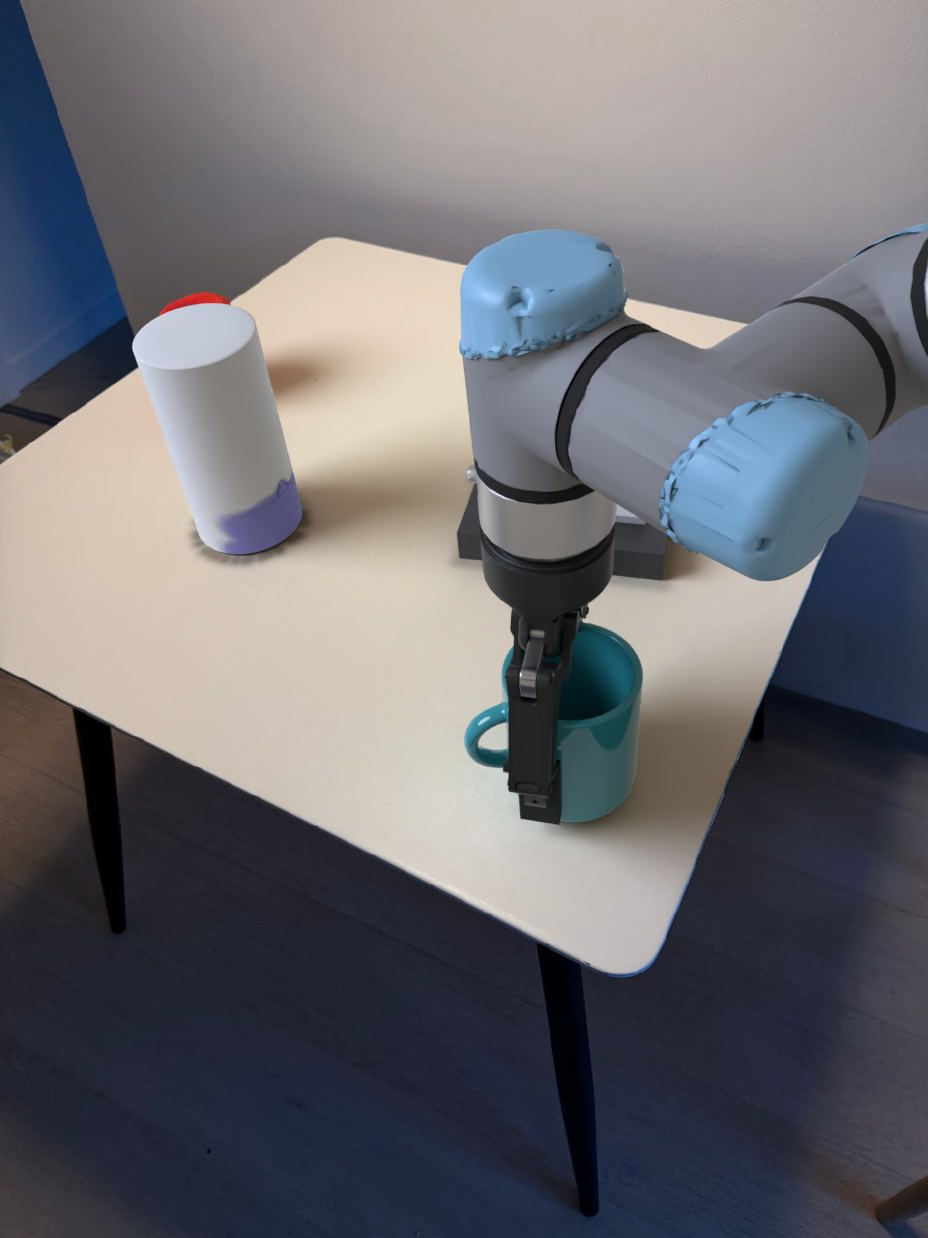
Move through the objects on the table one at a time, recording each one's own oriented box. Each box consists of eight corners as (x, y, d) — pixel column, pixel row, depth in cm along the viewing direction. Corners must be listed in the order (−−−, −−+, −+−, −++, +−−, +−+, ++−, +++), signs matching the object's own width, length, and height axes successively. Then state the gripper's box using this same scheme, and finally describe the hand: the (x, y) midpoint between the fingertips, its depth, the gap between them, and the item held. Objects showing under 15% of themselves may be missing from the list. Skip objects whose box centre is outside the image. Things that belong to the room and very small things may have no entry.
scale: (679, 465, 95) (682, 432, 92) (662, 580, 85) (665, 548, 82) (496, 449, 99) (494, 417, 96) (459, 558, 89) (455, 526, 86)
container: (238, 477, 99) (181, 292, 85) (322, 500, 96) (279, 312, 81) (177, 540, 93) (105, 353, 79) (264, 567, 90) (206, 376, 75)
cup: (459, 745, 74) (444, 643, 66) (613, 713, 75) (618, 608, 67) (484, 848, 68) (471, 749, 60) (652, 811, 69) (662, 709, 61)
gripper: (518, 403, 63) (530, 642, 79) (431, 658, 48) (467, 886, 65) (638, 412, 61) (624, 654, 77) (583, 678, 47) (581, 906, 63)
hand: (553, 759), depth 71 cm, fingers closed on cup, 9 cm apart
